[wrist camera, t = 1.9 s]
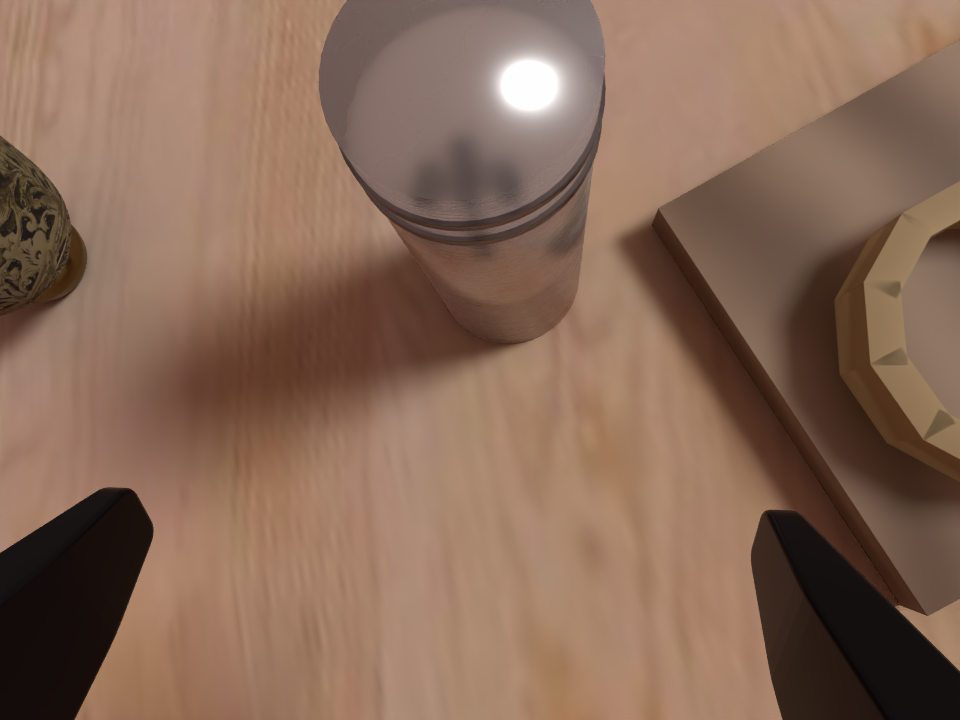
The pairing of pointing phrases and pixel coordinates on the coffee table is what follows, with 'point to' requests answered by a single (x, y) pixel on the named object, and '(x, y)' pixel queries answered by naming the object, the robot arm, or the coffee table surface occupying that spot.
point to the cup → (34, 236)
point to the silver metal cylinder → (475, 144)
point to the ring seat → (853, 309)
